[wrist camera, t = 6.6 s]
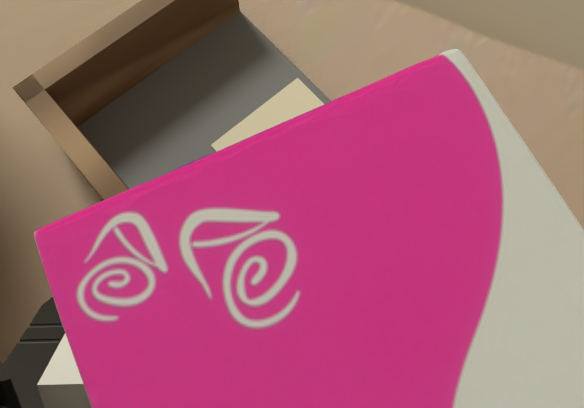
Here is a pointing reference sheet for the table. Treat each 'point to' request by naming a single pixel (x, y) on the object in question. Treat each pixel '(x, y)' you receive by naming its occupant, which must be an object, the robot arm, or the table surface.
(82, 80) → the walnut corner walls
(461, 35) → the table surface
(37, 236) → the supplement box
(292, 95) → the grey mat
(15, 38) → the table surface
